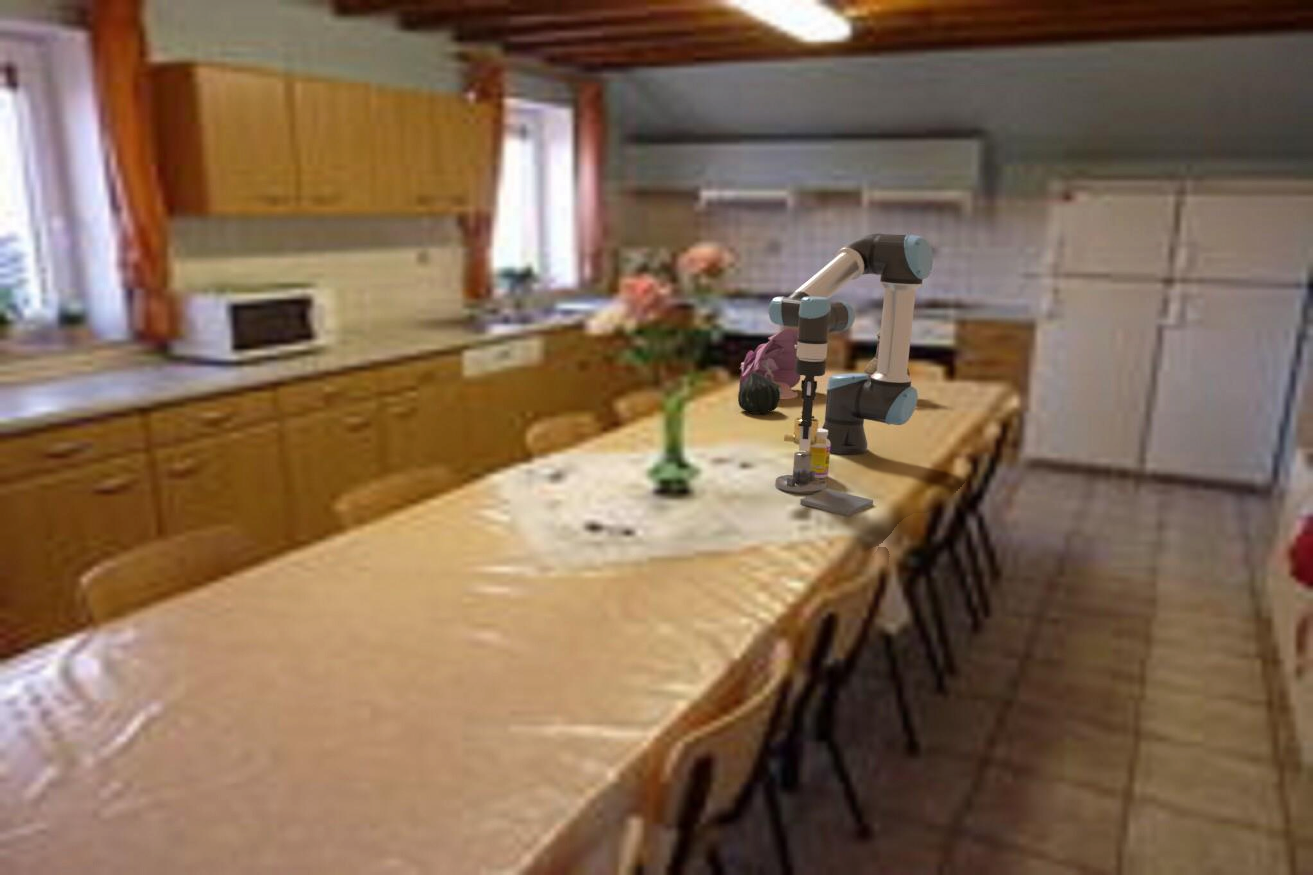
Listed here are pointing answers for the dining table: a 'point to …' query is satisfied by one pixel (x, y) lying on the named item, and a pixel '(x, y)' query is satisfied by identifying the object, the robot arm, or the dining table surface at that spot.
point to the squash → (758, 395)
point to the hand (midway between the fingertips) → (804, 447)
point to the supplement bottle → (820, 455)
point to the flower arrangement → (775, 362)
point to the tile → (836, 502)
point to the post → (801, 477)
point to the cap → (814, 431)
